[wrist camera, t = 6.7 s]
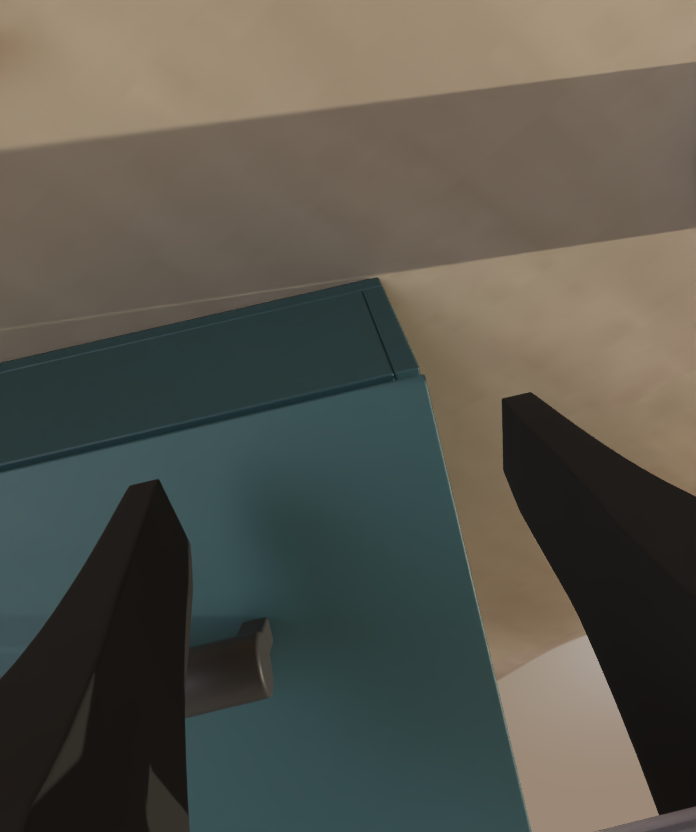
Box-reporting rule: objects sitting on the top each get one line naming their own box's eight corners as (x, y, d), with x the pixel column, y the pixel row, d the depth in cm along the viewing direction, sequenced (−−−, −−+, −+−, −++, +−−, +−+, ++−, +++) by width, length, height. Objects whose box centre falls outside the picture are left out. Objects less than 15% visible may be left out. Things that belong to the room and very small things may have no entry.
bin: (419, 549, 31) (453, 656, 26) (100, 625, 30) (80, 746, 26) (378, 276, 22) (419, 367, 17) (-74, 378, 21) (-150, 498, 17)
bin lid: (549, 923, 17) (610, 1063, 13) (-21, 1067, 17) (-124, 1253, 13) (421, 375, 17) (446, 361, 14) (-147, 506, 17) (-286, 530, 13)
